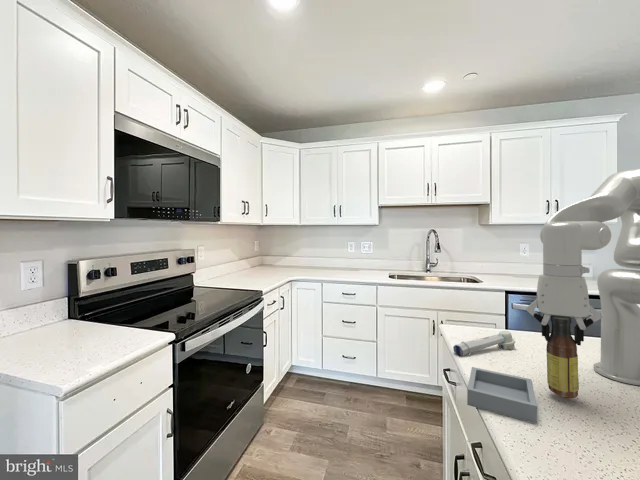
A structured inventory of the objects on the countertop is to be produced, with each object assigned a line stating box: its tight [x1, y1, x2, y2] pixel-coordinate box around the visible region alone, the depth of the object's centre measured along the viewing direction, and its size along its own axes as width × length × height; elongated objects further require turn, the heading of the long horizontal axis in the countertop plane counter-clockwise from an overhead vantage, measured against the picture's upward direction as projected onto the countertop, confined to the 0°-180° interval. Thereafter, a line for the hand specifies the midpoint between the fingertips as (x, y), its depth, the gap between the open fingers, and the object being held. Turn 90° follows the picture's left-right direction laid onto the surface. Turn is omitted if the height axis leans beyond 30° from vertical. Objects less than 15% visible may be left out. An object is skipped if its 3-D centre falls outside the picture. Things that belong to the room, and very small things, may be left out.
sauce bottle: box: [545, 315, 580, 399], centre depth 75 cm, size 7×6×20 cm
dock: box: [466, 366, 538, 425], centre depth 75 cm, size 14×14×4 cm
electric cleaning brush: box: [453, 330, 516, 357], centre depth 105 cm, size 5×7×25 cm
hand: (561, 340), depth 75 cm, fingers closed on sauce bottle, 5 cm apart
